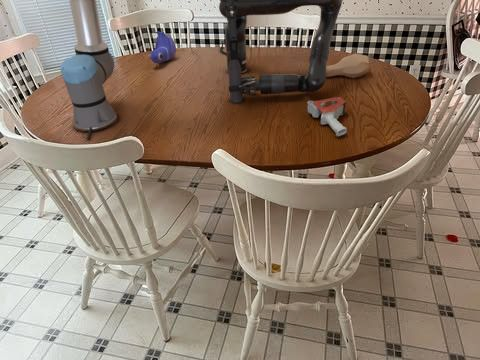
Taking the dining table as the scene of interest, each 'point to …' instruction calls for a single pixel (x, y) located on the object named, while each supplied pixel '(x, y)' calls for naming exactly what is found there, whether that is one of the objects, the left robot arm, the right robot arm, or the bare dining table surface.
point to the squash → (350, 66)
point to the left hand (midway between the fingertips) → (233, 56)
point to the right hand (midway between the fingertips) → (229, 86)
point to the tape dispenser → (329, 113)
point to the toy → (163, 48)
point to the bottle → (235, 80)
